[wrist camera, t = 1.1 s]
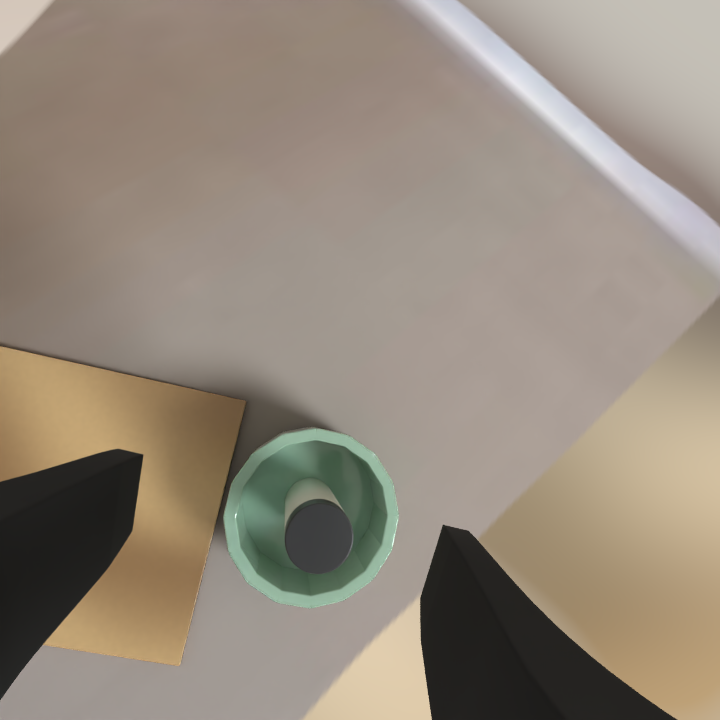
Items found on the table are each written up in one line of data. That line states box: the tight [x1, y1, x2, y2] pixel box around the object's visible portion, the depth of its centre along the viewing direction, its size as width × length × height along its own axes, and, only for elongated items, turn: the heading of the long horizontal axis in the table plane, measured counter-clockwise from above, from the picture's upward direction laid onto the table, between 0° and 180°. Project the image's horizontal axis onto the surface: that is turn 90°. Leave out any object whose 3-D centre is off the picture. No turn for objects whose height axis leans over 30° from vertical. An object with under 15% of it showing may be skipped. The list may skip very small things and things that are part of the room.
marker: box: [285, 478, 354, 574], centre depth 20 cm, size 2×2×7 cm
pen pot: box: [223, 427, 399, 608], centre depth 22 cm, size 7×7×4 cm
